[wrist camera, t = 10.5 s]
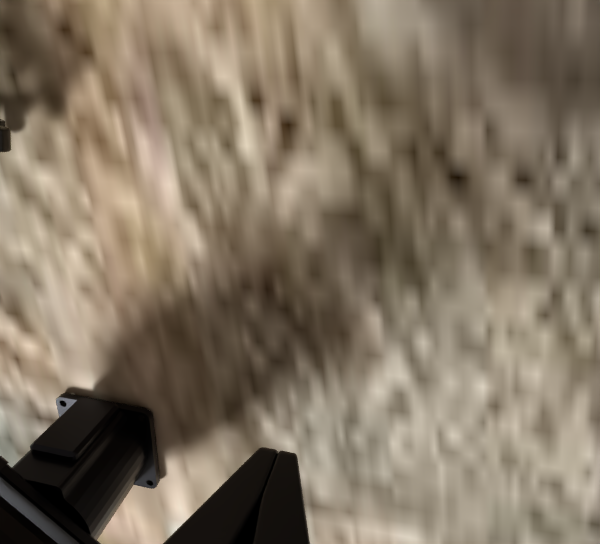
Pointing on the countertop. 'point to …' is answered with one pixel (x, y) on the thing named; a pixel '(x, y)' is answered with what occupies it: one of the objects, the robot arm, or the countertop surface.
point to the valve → (4, 137)
